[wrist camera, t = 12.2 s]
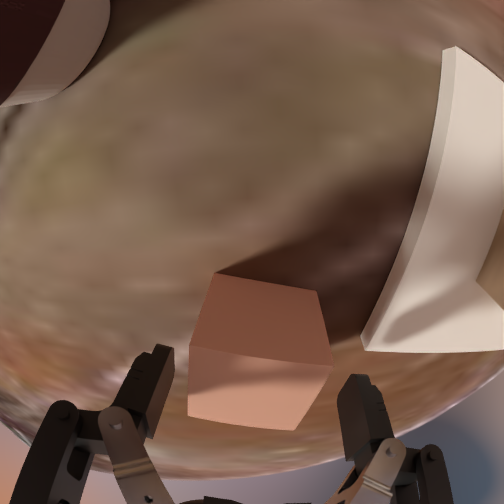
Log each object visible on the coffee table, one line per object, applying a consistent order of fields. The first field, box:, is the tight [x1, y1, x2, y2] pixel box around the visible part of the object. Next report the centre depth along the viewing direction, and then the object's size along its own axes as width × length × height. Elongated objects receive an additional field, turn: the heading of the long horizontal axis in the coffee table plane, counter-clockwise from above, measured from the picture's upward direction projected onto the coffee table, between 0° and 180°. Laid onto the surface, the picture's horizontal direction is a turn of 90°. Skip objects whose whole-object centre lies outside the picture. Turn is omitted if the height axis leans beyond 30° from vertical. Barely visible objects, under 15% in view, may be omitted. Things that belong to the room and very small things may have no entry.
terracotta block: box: [188, 273, 334, 430], centre depth 12 cm, size 5×5×5 cm
